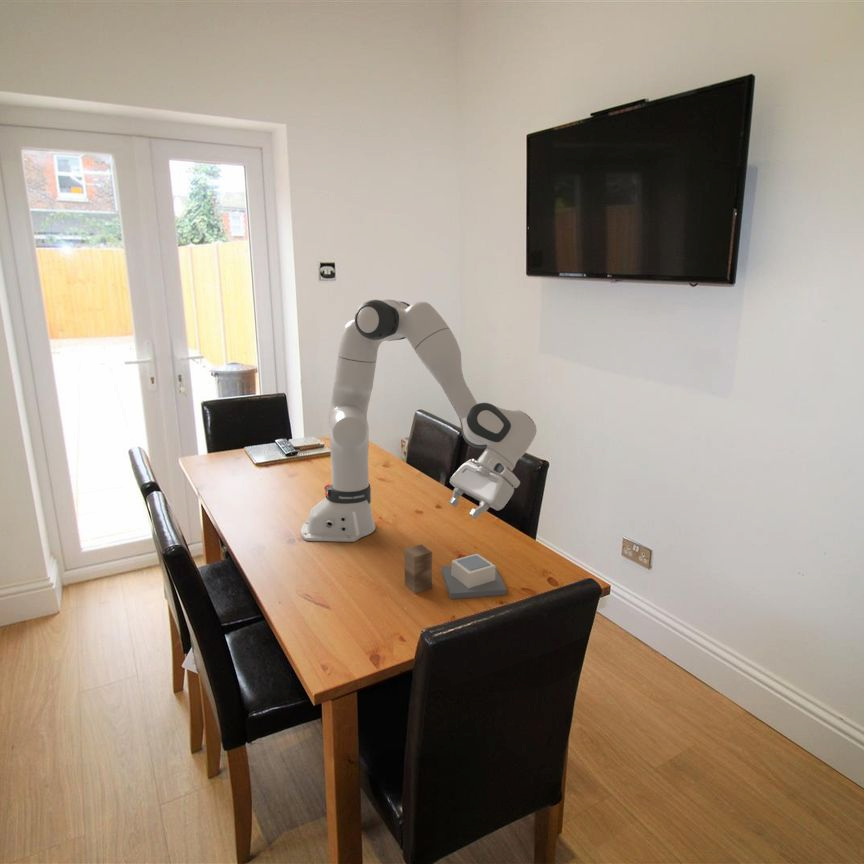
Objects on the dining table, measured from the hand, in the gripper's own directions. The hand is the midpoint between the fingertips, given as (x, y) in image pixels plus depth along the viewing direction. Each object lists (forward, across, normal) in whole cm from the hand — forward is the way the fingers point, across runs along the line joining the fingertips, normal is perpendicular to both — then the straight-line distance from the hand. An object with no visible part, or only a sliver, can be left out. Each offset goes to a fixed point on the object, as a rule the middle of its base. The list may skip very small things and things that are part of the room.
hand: (461, 510), depth 156 cm
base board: (+13, +5, +12) cm, 19 cm away
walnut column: (+22, 0, +3) cm, 22 cm away
